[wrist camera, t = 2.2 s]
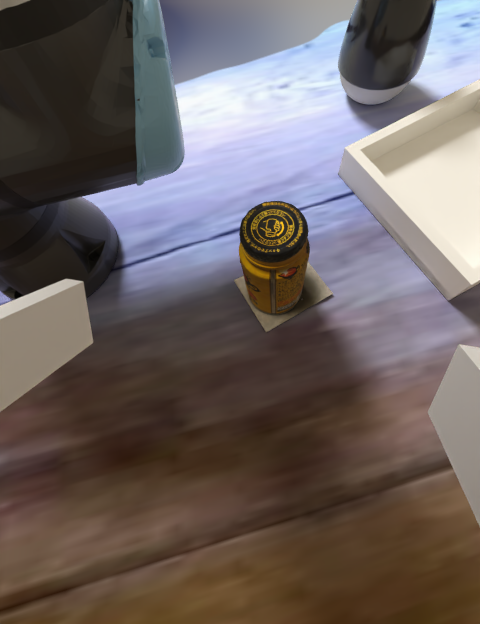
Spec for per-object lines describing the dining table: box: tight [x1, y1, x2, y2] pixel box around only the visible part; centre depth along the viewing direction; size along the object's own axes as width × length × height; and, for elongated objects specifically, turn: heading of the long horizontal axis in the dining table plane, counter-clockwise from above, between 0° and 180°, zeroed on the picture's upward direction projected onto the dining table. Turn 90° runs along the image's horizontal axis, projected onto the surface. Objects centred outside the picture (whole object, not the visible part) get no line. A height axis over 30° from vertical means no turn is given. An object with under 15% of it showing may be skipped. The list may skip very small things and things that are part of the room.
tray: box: [338, 79, 480, 301], centre depth 33 cm, size 20×20×4 cm
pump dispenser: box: [338, 0, 437, 105], centre depth 35 cm, size 10×10×15 cm
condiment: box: [234, 201, 333, 332], centre depth 28 cm, size 7×8×12 cm
